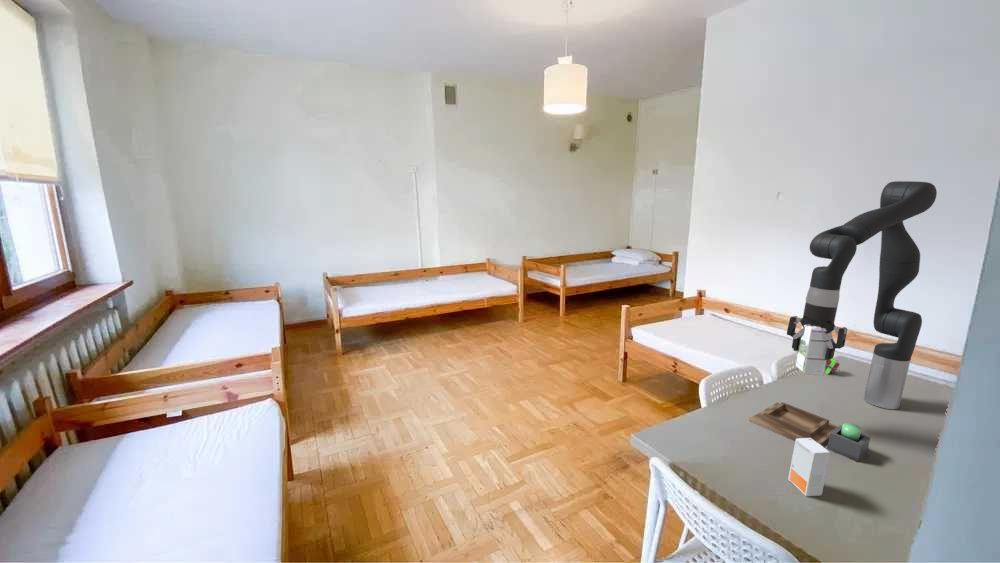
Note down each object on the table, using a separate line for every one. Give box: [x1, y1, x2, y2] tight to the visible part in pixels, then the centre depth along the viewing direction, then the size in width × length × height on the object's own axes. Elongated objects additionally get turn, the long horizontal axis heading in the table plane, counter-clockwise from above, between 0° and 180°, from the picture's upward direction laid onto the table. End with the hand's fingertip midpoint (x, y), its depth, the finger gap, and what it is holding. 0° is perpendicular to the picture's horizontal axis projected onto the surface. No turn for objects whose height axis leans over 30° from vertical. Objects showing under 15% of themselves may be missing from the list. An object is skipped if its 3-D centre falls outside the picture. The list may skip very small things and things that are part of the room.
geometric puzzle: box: [824, 357, 841, 376], centre depth 167 cm, size 7×7×8 cm
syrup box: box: [794, 325, 833, 377], centre depth 127 cm, size 6×6×14 cm
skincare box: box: [787, 438, 831, 497], centre depth 102 cm, size 6×4×12 cm
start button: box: [841, 422, 862, 441], centre depth 117 cm, size 4×4×3 cm
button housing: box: [826, 425, 872, 463], centre depth 118 cm, size 7×7×5 cm
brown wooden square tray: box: [749, 402, 840, 446], centre depth 131 cm, size 18×18×3 cm
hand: (811, 354), depth 127 cm, fingers closed on syrup box, 8 cm apart
